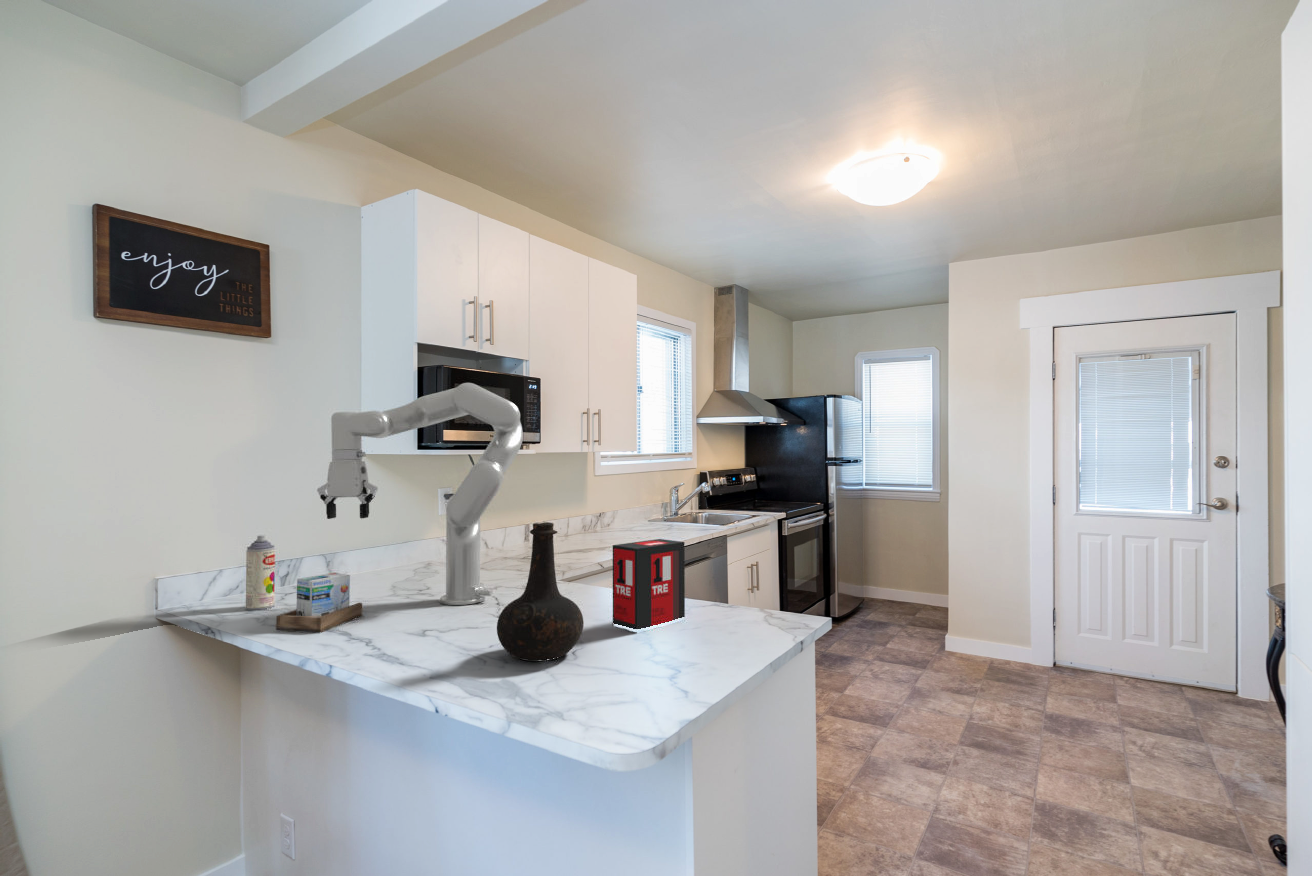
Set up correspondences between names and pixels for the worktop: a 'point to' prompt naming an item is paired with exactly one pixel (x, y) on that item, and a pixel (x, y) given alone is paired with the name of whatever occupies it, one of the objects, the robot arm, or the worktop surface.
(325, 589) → the light bulb box
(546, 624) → the glass bottle
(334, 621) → the tray
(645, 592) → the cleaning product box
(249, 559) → the aerosol can
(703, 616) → the worktop surface
